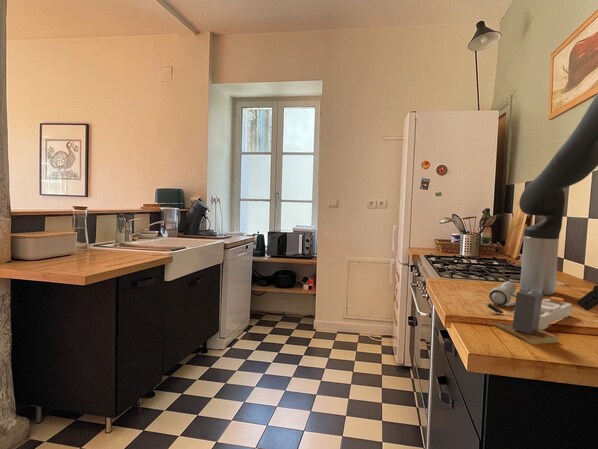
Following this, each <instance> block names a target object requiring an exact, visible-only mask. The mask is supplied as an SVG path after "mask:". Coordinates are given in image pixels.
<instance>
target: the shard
mask: <svg viewBox="0 0 598 449" xmlns="http://www.w3.org/2000/svg"><path fill="white" fill-rule="evenodd" d="M491 322H492V324H493V327H495V328H497V329H500V330H502V331H504V332H507V333H509V334H510V335H513V336H515V337H516V338H519V339H521V340H523V341H525V342H527V343H528V344H531V345H538V344H541V345H542V344H556V343H557V342H558V341H559V336H556V335H554V334H551V333H549V332H547V331H546V330H540V329H538V330H537V331H536V332H534V333H533V334H531V335H530V334H527V333H524V332H521V331H518V330H515V329H512V328H513V323H512V324H510V323H504V322H497V321H495V320H494V321H493V320H492V321H491Z"/></svg>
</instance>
